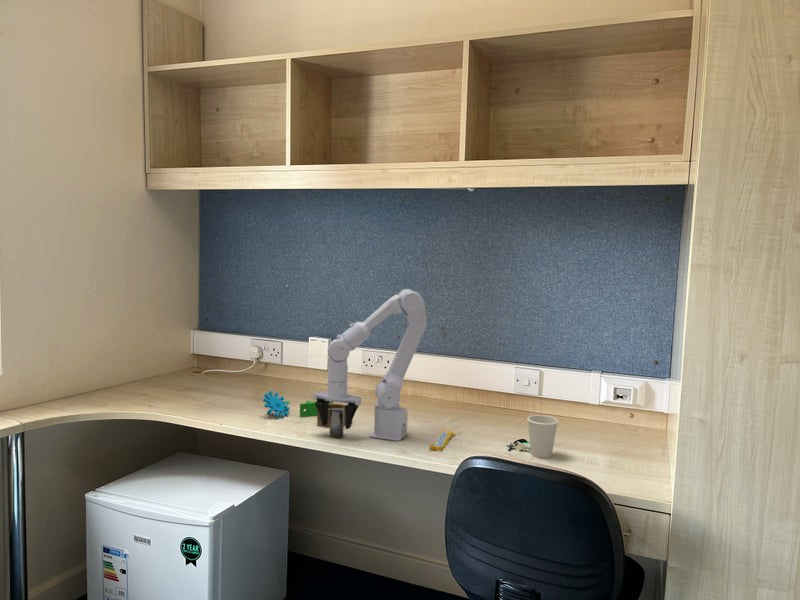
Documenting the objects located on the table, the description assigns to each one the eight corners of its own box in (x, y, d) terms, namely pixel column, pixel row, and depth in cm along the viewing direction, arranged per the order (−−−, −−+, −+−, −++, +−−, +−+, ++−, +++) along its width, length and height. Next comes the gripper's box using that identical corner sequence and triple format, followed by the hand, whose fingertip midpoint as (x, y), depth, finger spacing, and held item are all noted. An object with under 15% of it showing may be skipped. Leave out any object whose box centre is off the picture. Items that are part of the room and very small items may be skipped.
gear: (273, 416, 190) (260, 390, 195) (262, 427, 193) (250, 401, 197) (298, 414, 200) (285, 389, 204) (287, 424, 202) (275, 399, 206)
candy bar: (442, 453, 166) (442, 447, 166) (427, 452, 168) (428, 445, 167) (455, 436, 182) (455, 430, 182) (441, 434, 184) (441, 428, 183)
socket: (351, 422, 192) (351, 405, 192) (340, 429, 185) (340, 411, 184) (328, 419, 195) (328, 402, 194) (317, 425, 187) (317, 408, 187)
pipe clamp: (329, 412, 205) (329, 398, 204) (333, 414, 201) (333, 401, 201) (297, 414, 200) (297, 401, 199) (300, 417, 196) (300, 403, 196)
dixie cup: (526, 458, 163) (528, 422, 162) (524, 448, 171) (526, 414, 171) (558, 461, 162) (560, 424, 161) (555, 450, 170) (556, 416, 169)
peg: (345, 435, 179) (346, 408, 178) (339, 439, 175) (340, 412, 174) (333, 433, 180) (333, 407, 179) (327, 437, 176) (327, 410, 176)
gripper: (365, 380, 177) (364, 425, 179) (321, 375, 182) (320, 419, 183) (356, 385, 171) (354, 432, 172) (310, 380, 176) (309, 425, 177)
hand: (336, 426), depth 177 cm, fingers open, 7 cm apart
